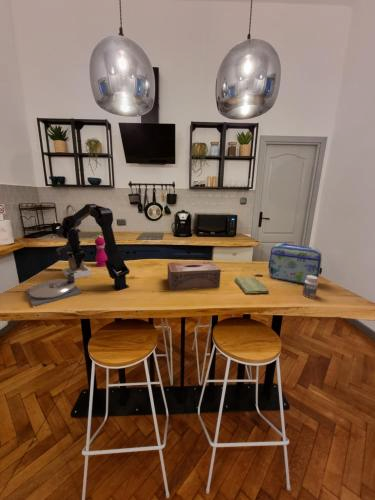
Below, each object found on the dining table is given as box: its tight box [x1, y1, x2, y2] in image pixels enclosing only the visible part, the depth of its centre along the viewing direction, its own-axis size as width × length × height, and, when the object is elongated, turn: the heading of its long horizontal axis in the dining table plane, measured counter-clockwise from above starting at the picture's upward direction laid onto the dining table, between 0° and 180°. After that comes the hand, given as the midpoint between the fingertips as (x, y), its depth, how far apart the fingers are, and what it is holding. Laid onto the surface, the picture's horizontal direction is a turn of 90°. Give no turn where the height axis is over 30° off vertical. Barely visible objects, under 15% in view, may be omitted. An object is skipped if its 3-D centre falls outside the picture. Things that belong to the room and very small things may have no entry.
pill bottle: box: [302, 275, 319, 299], centre depth 103 cm, size 6×6×10 cm
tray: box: [62, 264, 93, 280], centre depth 122 cm, size 12×12×3 cm
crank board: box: [25, 284, 83, 307], centre depth 100 cm, size 19×19×1 cm
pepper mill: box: [94, 235, 108, 268], centre depth 136 cm, size 7×7×20 cm
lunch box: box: [267, 242, 322, 285], centre depth 120 cm, size 26×11×21 cm, turn 57°
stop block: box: [67, 257, 85, 271], centre depth 120 cm, size 6×6×6 cm
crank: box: [29, 273, 76, 299], centre depth 99 cm, size 18×18×6 cm
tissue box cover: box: [167, 260, 222, 291], centre depth 114 cm, size 26×14×10 cm, turn 101°
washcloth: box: [234, 276, 269, 295], centre depth 112 cm, size 13×18×3 cm
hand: (76, 266), depth 121 cm, fingers closed on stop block, 6 cm apart
